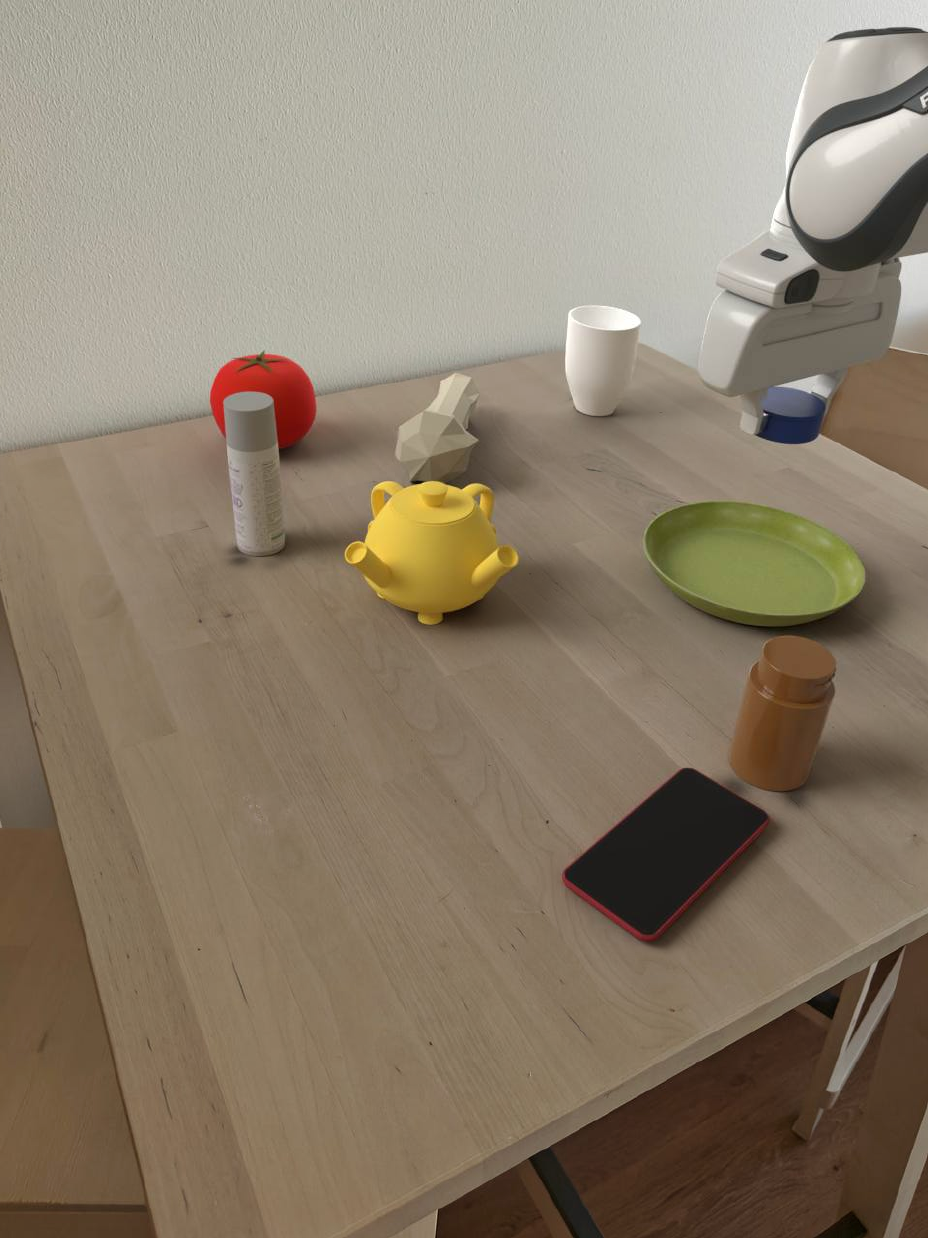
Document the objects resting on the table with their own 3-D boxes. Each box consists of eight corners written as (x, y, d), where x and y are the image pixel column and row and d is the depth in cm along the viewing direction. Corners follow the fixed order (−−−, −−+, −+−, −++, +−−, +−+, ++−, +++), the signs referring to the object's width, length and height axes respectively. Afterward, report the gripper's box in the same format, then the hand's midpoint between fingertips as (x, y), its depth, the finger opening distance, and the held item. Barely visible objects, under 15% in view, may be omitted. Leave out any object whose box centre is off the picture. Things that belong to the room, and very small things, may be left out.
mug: (620, 427, 125) (633, 332, 119) (551, 415, 128) (560, 321, 121) (638, 393, 135) (651, 304, 128) (574, 383, 137) (583, 294, 130)
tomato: (288, 415, 125) (283, 332, 119) (335, 450, 117) (332, 364, 111) (197, 436, 119) (187, 350, 113) (240, 475, 111) (232, 385, 105)
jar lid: (727, 422, 89) (733, 396, 87) (773, 406, 92) (779, 380, 91) (788, 451, 85) (795, 423, 83) (833, 432, 88) (841, 405, 87)
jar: (825, 769, 76) (861, 662, 70) (775, 803, 73) (808, 694, 67) (761, 726, 80) (790, 621, 74) (711, 757, 77) (737, 650, 71)
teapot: (346, 639, 87) (342, 527, 81) (356, 556, 98) (354, 451, 92) (512, 643, 88) (522, 532, 81) (504, 560, 99) (512, 456, 92)
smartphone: (556, 875, 65) (686, 763, 74) (555, 884, 66) (684, 771, 75) (649, 942, 61) (775, 815, 70) (647, 952, 62) (772, 824, 71)
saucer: (767, 673, 86) (775, 642, 84) (594, 567, 98) (598, 538, 96) (900, 593, 97) (910, 565, 95) (728, 507, 109) (734, 480, 108)
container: (227, 549, 98) (211, 404, 90) (255, 527, 102) (241, 387, 93) (267, 561, 97) (255, 415, 88) (294, 539, 100) (284, 397, 92)
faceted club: (378, 484, 109) (420, 403, 129) (452, 512, 109) (483, 427, 130) (401, 411, 104) (441, 339, 125) (478, 440, 104) (506, 364, 125)
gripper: (874, 236, 87) (833, 388, 95) (701, 265, 78) (672, 432, 86) (937, 255, 83) (889, 412, 91) (762, 289, 73) (726, 461, 81)
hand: (782, 422), depth 88 cm, fingers closed on jar lid, 6 cm apart
